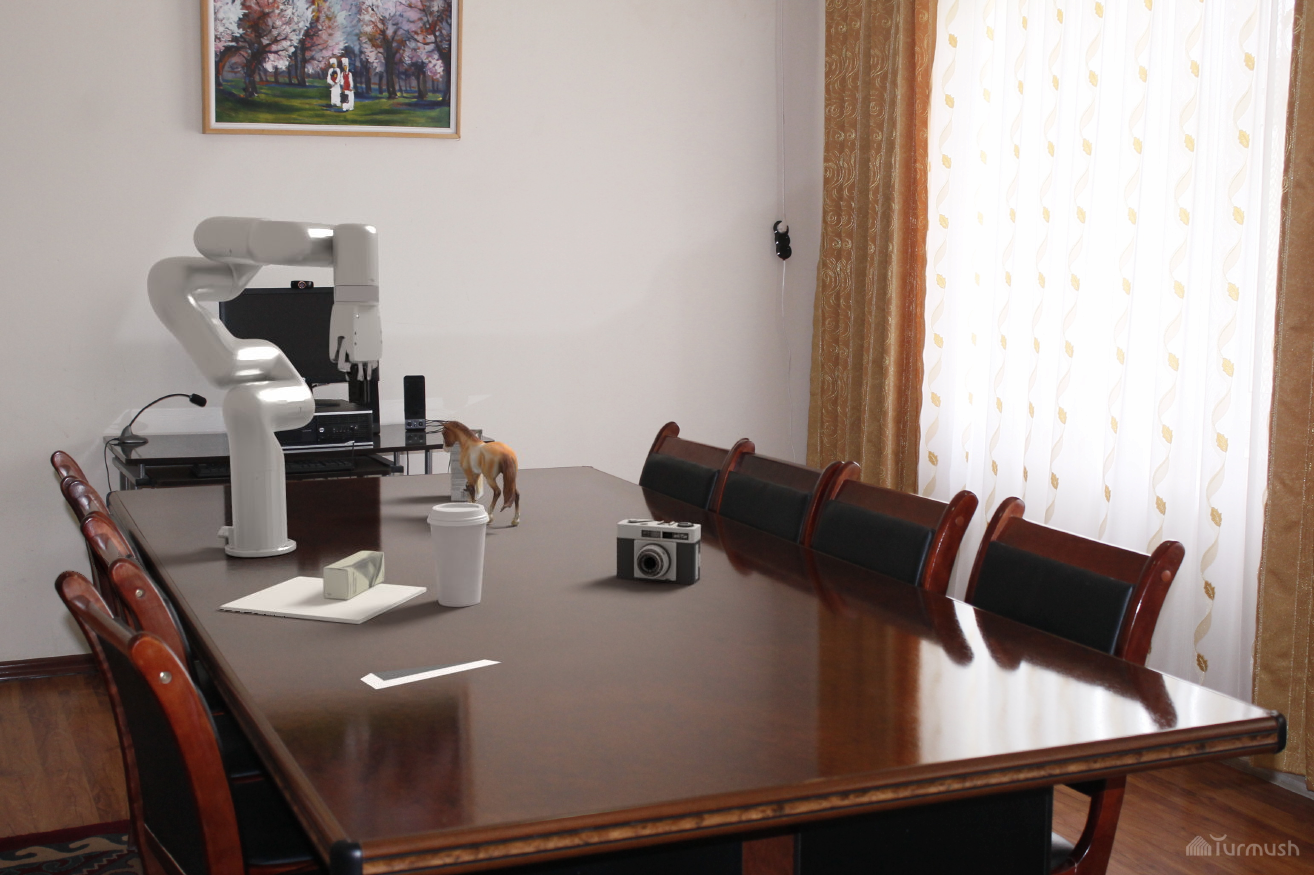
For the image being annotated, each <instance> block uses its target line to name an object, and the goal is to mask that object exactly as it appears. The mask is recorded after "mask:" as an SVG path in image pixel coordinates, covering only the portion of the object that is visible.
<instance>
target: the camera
mask: <svg viewBox="0 0 1314 875" xmlns="http://www.w3.org/2000/svg"><path fill="white" fill-rule="evenodd" d="M701 528H702V524H697V523H693V522H688V521H684V522H683V521H682V522H675V521H671V522H669V523H666V522H665V520H662V521H657V520H654V519H643V518H642V519H638V518H637V519H636V518H629V519H626V518H625V519H623V520H621V521H619V522H617V523H616V579H624V580H633V581H634V580H635V581H645V582H646V581H647V582H657V583H668V584H680V585H681V584H682V585H690V586H691V585H695V584H696V583H698V582H699V581H700V580H701V539H702V538H701V537H702V536H701V533H702V532H701V530H702V529H701Z"/></svg>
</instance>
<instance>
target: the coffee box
mask: <svg viewBox="0 0 1314 875" xmlns="http://www.w3.org/2000/svg"><path fill="white" fill-rule="evenodd" d="M469 429H470V428H469ZM470 430H471V431H472V432H473V433H474V434H475V435H476V436H477V437H478V438H479V439H480V440H482V441H483V429H478V428H477V429H474V428H473V429H470ZM460 452H461V448H460V445H459V442H458V441H456V442H455V444H454V445H453V447H452V448H451V452H450V453H449V457H450V459H449V460H450V461H449V463H450V465H449V466H450V500H451V501H452V502H468V496H469V483H468V481H467V479H466V477H465V475H464V471H463V469H462V468H461V466H460V463H459V457H460ZM475 490H476V493H475V500H477V501H479V499H480V498H481V497H482V496H483V495H484V476H483V474H481V475H480V477H479V479H478V481H477V483H476V485H475Z"/></svg>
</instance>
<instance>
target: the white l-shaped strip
mask: <svg viewBox="0 0 1314 875" xmlns="http://www.w3.org/2000/svg"><path fill="white" fill-rule="evenodd" d="M499 663H502V662H500V661H496V660H495V661H494V660H489V659H480V660H479V659H478V660H470V661H463V662H456V663H455V662H454V663H444V664H436V665H429V666H420V667H411V668H401V669H395V670H386V671H378V672H371V673H368V674H367V675H365V676H364V677H362V678H360V680H361V681H362V682H364V683H365V684H367V685H368V686H370V687H371V688H373V689H375V690H380V689H385V688H388V687H395V686H399V685H403V684H407V683H412V682H416V681H422V680H427V679H430V678H435V677H441V676H444V675H449V674H453V673H458V672H463V671H467V670H468V671H469V670H472V669H476V668H481V667H482V668H483V667H487V666H492V665H495V664H499ZM349 668H352V666H349Z"/></svg>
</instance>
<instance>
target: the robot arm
mask: <svg viewBox="0 0 1314 875" xmlns="http://www.w3.org/2000/svg"><path fill="white" fill-rule="evenodd" d="M378 234H379V233H378V231H377V228H376V227H375V226H374V225H371V224H367V223H354V222H353V223H351V222H349V223H346V222H345V223H339V224H329V223H322V222H321V223H320V222H319V223H318V222H307V221H306V222H305V221H292V220H291V221H289V220H271V219H269V218H266V217H249V216H246V217H245V216H244V217H243V216H225V215H218V216H216V215H215V216H212V217H207V218H205V219H203V220H202V221H200V222H199V223H198V224H197V226H196V227H195V229H194V231H193V234H192V235H193V238H192V240H193V244H194V247H195V248H196V250H197V252H198V253H199V254H200V255H201V256H189V255H188V256H187V255H182V256H181V255H180V256H172V257H170V256H169V257H165V258H162V259H160V260H158V261H156V262H155V263H154V264H153V265H152V266H151V268H150V269H149V271H148V274H147V281H146V288H147V296H148V300H149V303H150V306H151V309H152V310H153V312H154V314H155V315H156V317H157V318H158V319H159V321H160V322H161V324H163V326H164V327H165V328H166V329H167V330H168V331H169V332H170V333H171V334H172V336H173V337H174V338H175V339H176V340H177V342H178V343H179V344H180V345H181V347H182V348H183V350H184V351H185V353H186V354H187V355H188V357H189V358H190V360H191V362H192V363H193V364H194V365H195V367H196V368H197V370H199V372H200V373H201V375H202V376H203V378H204V380H206V381H207V383H208V384H209V385H211V387H212V388H214V389H215V390H218V391H219V390H220V391H227V392H226V393H225V395H224V397H223V400H222V406H221V408H222V409H221V411H222V418H223V422H224V426H225V430H226V434H227V441H228V447H229V460H230V461H229V462H230V463H229V465H230V484H231V486H230V487H231V488H230V490H231V505H232V506H231V507H232V508H231V513H232V514H231V515H232V526H226V525H223V526H221V527H220V529H219V531H218V532H217V537H218V538H221V539H227V540H228V544H226V545H225V546H224V553H225V554H226V555H228V556H232V557H239V558H262V557H263V558H264V557H270V556H271V557H272V556H278V555H284V554H288V553H291V552H293V551H294V550H296V548H297V542H296V541H295V540H292V539H290V538H288V525H287V523H288V519H287V498H286V494H287V493H286V488H287V487H286V468H285V464H286V463H285V455H284V450H283V448H282V446H281V443H280V442H279V440H278V439H277V437H276V435H275V432H280V431H289V430H296V429H299V428H302V427H304V426H306V425H308V424H309V423H310V422H311V421H312V419H313V417H314V416H315V410H316V402H315V398H314V395H313V393H312V391H311V388H310V387H309V386H308V384H307V382H306V381H305V380H304V378H302V376H301V375H300V373H299V372H298V371H297V369H296V368H295V366H294V364H292V362H291V361H290V359H289V358H288V357H287V356H286V354H285V353H284V352H283V351H282V349H281V348H279V346H278V345H276V344H275V343H273V342H270V341H269V340H266V339H261V338H260V339H259V338H248V339H247V338H244V339H242V338H239V337H236V336H234V335H233V334H232V333H231V332H230V330H228V328H227V327H226V326H225V324H224V323H223V321H222V320H221V319H220V318H219V317H218V316H217V315H216V314H215V313H213V311H211V310H209V309H207V308H206V307H204V306H203V305H201V304H200V303H199V302H205V303H206V302H207V303H208V302H209V303H210V302H214V303H216V302H221V303H222V302H229V301H231V300H233V299H235V298H237V297H238V296H240V295H241V293H242V292H243V291H244V290H245V289H246V287H248V285H249V284H250V283H251V281H252V280H253V279H254V278H255V277H256V275H257V274H258V273H259V272H260V271H261V269H262V268H263V267H265V266H266V267H267V266H270V265H274V266H284V267H285V266H287V267H302V268H303V267H305V268H306V267H307V268H308V267H309V268H324V269H325V268H328V269H329V268H331V269H333V270H332V271H333V272H332V273H333V274H332V276H333V302H334V304H332V308H331V313H330V314H331V315H330V322H329V323H330V324H329V348H328V349H329V359H330V361H331V362H332V363H338V364H337V369H338V371H342V372H344V373H345V380H346V381H347V382H348V383H347V388H348V389H347V390H348V391H347V392H348V404H357V405H359V404H362V405H364V404H369V403H371V402H370V400H371V399H370V380H371V378H372V371H373V370H374V369H375V368H377V367H378V366H379V365H378V362H379V360H380V359H381V358H382V356H383V334H382V333H383V332H382V320H381V312H380V309H379V308H380V307H379V306H380V286H379V283H380V282H379V278H380V277H379V240H378V239H379V237H378V236H379V235H378Z"/></svg>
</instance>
